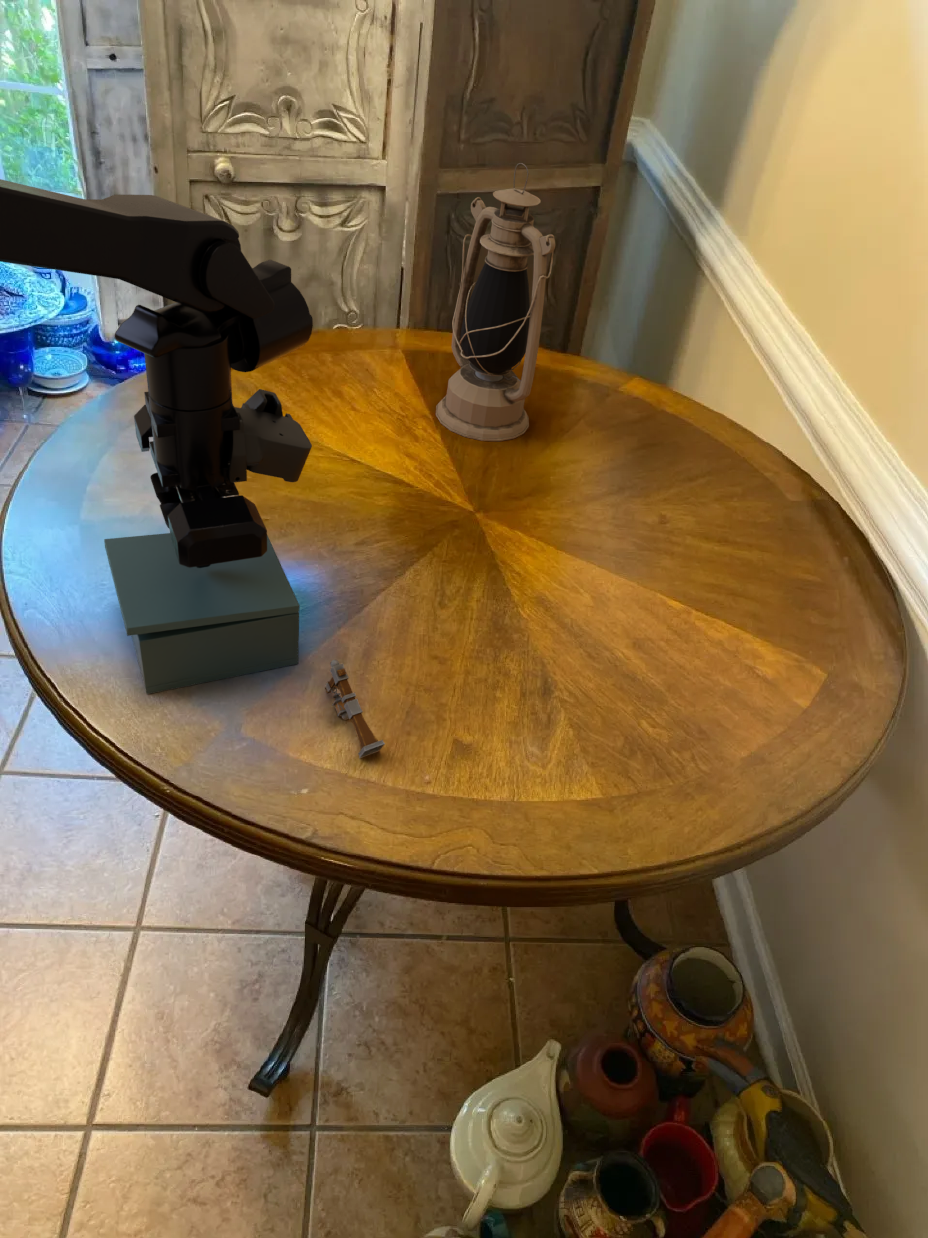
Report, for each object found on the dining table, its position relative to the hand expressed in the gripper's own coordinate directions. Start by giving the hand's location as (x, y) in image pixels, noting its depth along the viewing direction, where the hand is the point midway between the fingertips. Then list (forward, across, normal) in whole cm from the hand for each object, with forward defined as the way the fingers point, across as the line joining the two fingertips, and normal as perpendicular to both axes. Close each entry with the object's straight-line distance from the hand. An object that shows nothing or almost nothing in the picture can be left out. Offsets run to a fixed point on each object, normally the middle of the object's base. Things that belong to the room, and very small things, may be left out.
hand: (202, 564), depth 75 cm
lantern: (+8, +31, -41) cm, 52 cm away
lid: (+1, 0, 0) cm, 1 cm away
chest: (+8, 0, 0) cm, 8 cm away
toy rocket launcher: (+8, -14, -8) cm, 18 cm away
